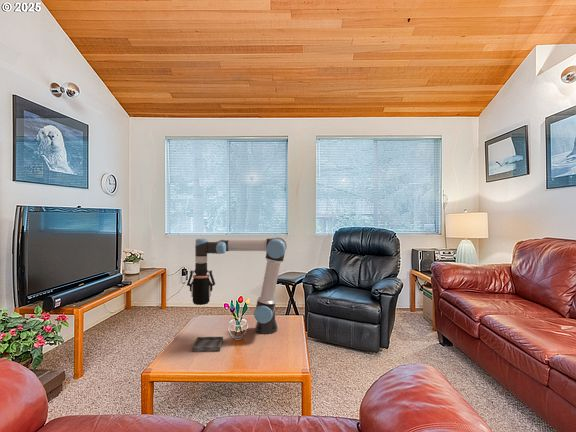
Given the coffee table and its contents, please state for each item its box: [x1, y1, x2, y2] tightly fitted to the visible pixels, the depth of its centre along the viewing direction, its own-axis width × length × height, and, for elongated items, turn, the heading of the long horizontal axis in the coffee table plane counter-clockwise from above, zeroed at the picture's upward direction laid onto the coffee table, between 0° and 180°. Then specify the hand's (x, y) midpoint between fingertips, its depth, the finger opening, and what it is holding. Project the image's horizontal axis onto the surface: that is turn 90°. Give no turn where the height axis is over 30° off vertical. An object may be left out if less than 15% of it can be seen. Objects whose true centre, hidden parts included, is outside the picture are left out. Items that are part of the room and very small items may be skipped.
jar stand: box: [191, 336, 224, 353], centre depth 202 cm, size 16×16×3 cm
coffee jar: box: [192, 273, 211, 306], centre depth 219 cm, size 11×11×18 cm
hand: (201, 296), depth 219 cm, fingers closed on coffee jar, 10 cm apart
